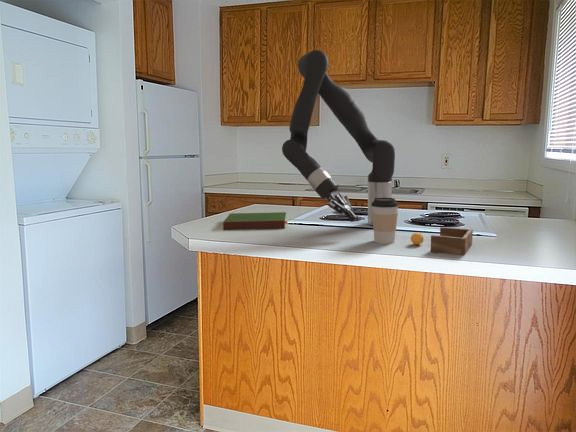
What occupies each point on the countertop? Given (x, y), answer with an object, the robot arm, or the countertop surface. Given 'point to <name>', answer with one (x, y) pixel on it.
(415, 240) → the ball
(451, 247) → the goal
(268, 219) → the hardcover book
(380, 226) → the coffee cup
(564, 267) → the countertop surface
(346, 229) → the countertop surface
